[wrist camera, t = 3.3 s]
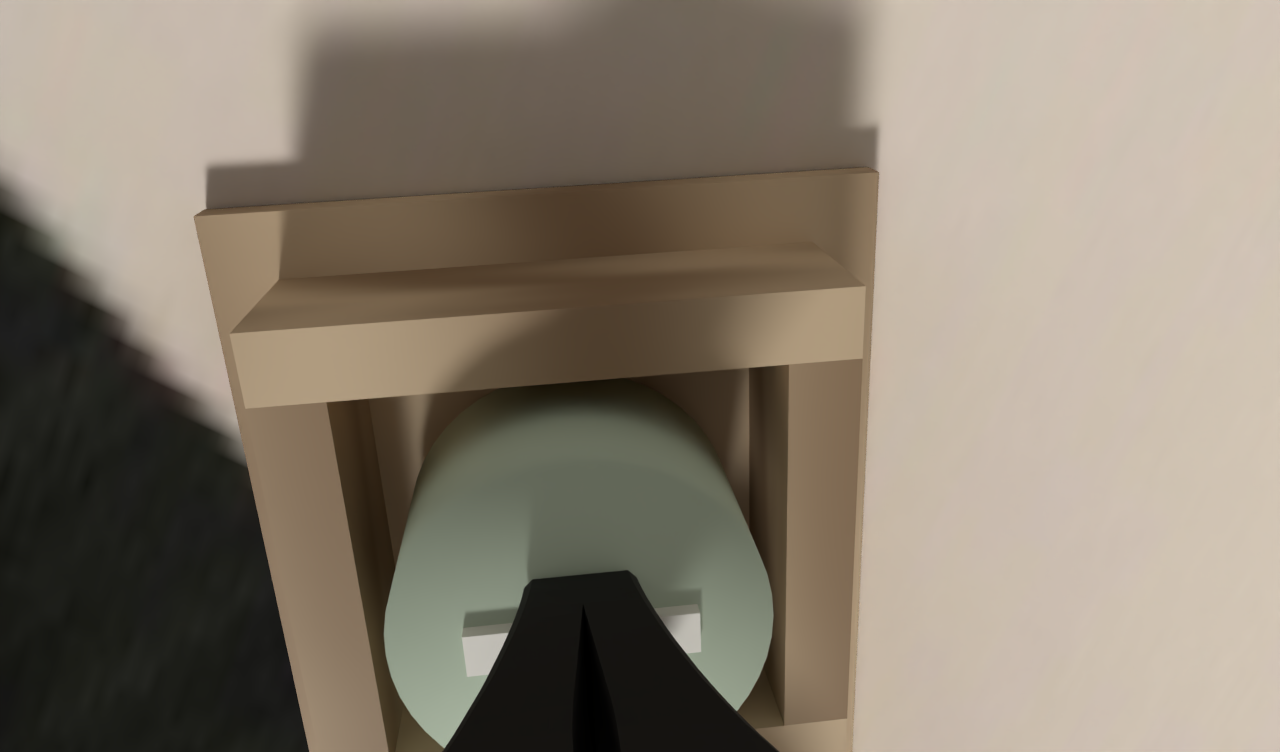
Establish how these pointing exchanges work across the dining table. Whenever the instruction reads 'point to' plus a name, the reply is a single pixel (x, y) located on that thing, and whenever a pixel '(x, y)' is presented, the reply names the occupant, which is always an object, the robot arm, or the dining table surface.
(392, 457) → the wooden compartment tray
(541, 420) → the sage button
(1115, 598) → the dining table surface
